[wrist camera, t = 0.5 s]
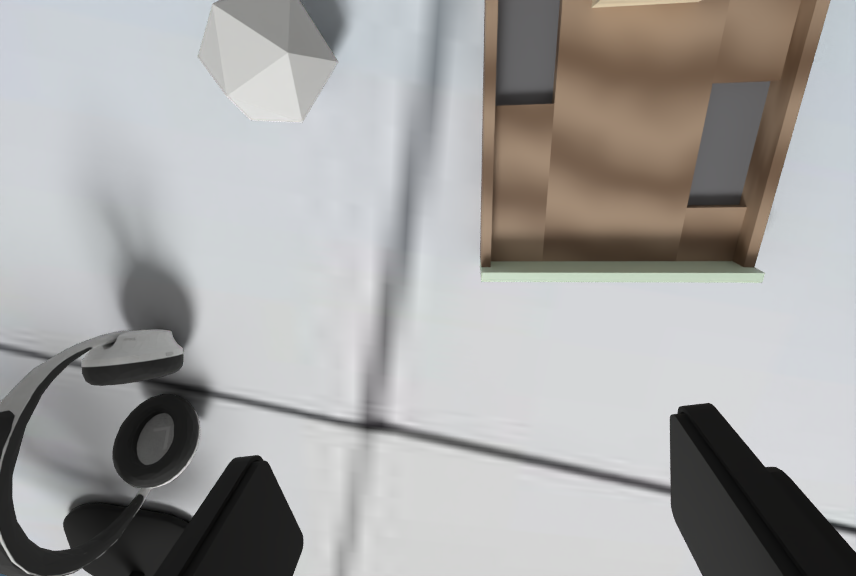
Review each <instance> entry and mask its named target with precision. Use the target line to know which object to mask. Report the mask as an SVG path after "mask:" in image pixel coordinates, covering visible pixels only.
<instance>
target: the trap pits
mask: <svg viewBox="0 0 856 576" xmlns="http://www.w3.org/2000/svg"><path fill="white" fill-rule="evenodd" d="M559 6H560V0H498V23H497V59H496V95H495V106H503V105H531V104H552V98H553V85H554V72H555V59H556V46H557V32H558V19H559ZM770 82H771V81H767V82H741V83H714V84H712V89H711V94H710V98H709V103H708V108H707V113H706V118H705V122H704V127H703V132H702V137H701V142H700V147H699V151H698V156H697V161H696V166H695V171H694V176H693V180H692V185H691V190H690V195H689V200H688V204H687V205H739V203H740V200H741V196H742V192H743V188H744V184H745V180H746V176H747V172H748V168H749V164H750V160H751V156H752V153H753V149H754V145H755V141H756V137H757V133H758V129H759V125H760V121H761V117H762V113H763V109H764V105H765V102H766V98H767V94H768V90H769V86H770Z"/></svg>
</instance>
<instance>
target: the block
mask: <svg viewBox="0 0 856 576" xmlns="http://www.w3.org/2000/svg"><path fill="white" fill-rule="evenodd" d="M699 1H701V0H592V8H598V7H616V6H634V5H652V4H670V3H688V2H699Z"/></svg>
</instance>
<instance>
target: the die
mask: <svg viewBox="0 0 856 576" xmlns="http://www.w3.org/2000/svg"><path fill="white" fill-rule="evenodd" d="M198 58H199V59H200V61H201V62H202V63H203V65H204V66H205V68H206V69H207V70H208V72H209V73H210V74H211V76H212V77H213V78H214V80H215V81H216V83H217V84H218V85H219V87H220V88H221V89H222V91H223V92H224V94H225V95H226V96H227V97H228V98H229V99H230V100H231V101H232V102H233V103H234V104H235V105H236V106H237V107H238V108H239V109H240V110H241V111H242V112H243V113H244V114H245V115H246V116H247V117H248V118H249V119H250V120H251V121H273V122H297V123H303V121H304V119H305V118H306V116H307V114H308V113H309V111H310V109H311V107H312V106H313V104H314V102H315V101H316V99H317V97H318V96H319V94H320V92H321V90H322V89H323V87H324V85H325V84H326V82H327V80H328V79H329V77H330V75H331V73H332V72H333V70H334V68H335V67H336V65H337V63H338V61H337V59H336V57H335V56H334V54H333V53H332V51H331V49H330V48H329V46H328V45H327V43H326V42H325V40H324V38H323V37H322V35H321V34H320V32H319V30H318V29H317V27H316V26H315V24H314V22H313V21H312V19H311V18H310V16H309V15H308V13H307V11H306V10H305V8H304V7H303V5H302V3H301V2H300V0H219V1H217V2H215V3H213V4H212V8H211V11H210V15H209V18H208V22H207V25H206V29H205V32H204V36H203V39H202V43H201V46H200V50H199V53H198Z"/></svg>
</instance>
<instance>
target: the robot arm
mask: <svg viewBox="0 0 856 576" xmlns="http://www.w3.org/2000/svg"><path fill="white" fill-rule="evenodd" d="M670 470H671V508H672V513H673V516H674V519H675V522H676V524H677V526H678V528H679V530H680V532H681V534H682V536H683V538H684V540H685V542H686V544H687V546H688V548H689V550H690V552H691V554H692V556H693V558H694V560H695V562H696V564H697V566H698V568H699V570H700V572H701V573H702V575H703V576H856V552H855V551H854V550H853V549H852V548H851V547H850V546H849V544H848V543H847V542H846V541H845V540H844V539H843V538H842V537H841V535H840V534H839V533H838V532H837V531H836V530H835V529H834V527H833V526H832V525H831V524H830V523H829V522H828V521H827V519H826V518H825V517H824V516H823V515H822V514H821V513H820V511H819V510H818V509H817V508H816V507H815V506H814V505H813V503H812V502H811V501H810V500H809V499H808V498H807V497H806V495H805V494H804V493H803V492H802V491H801V490H800V489H799V488H798V486H797V485H796V484H795V483H794V482H793V481H792V480H791V478H790V477H789V476H787V475H786V474H785V473H784V472H783V471H782V470H780V469H778V468H777V467H765V466H764V465H763V464H762V463H761V462H760V460H759V459H758V458H757V457H756V456H755V454H754V453H753V452H752V451H751V450H750V448H749V447H748V446H747V445H746V444H745V442H744V441H743V440H742V439H741V438H740V436H739V435H738V434H737V433H736V432H735V430H734V429H733V428H732V427H731V426H730V424H729V423H728V422H727V421H726V420H725V418H724V417H723V416H722V415H721V414H720V412H719V411H718V410H717V409H716V408H715V407H714V406H713V405H712V404H710V403H705V404H696V405H688V406H681V407H679V409H678V414H673V415H671V416H670ZM302 549H303V535H302V532H301V530H300V528H299V526H298V524H297V522H296V520H295V518H294V515H293V513H292V511H291V509H290V507H289V505H288V503H287V501H286V499H285V497H284V495H283V492H282V490H281V488H280V486H279V484H278V482H277V480H276V478H275V476H274V474H273V472H272V469H271V467H270V465H269V464H268V462H267V461H263V459H262V458H261V457H260V456H258V455H255V456H246V457H237V458H234V459H233V460H232V461H231V462H230V463H229V465H228V466H227V467H226V469H225V470H224V472H223V473H222V475H221V476H220V478H219V479H218V481H217V482H216V484H215V485H214V487H213V488H212V490H211V491H210V493H209V494H208V496H207V497H206V499H205V500H204V502H203V503H202V504H201V506H200V507H199V509H198V510H197V512H196V513H195V515H194V516H193V518H192V519H191V521H190V522H189V524H188V525H187V527H186V528H185V530H184V531H183V533H182V534H181V536H180V537H179V538H178V540H177V541H176V543H175V544H174V546H173V547H172V549H171V550H170V552H169V553H168V555H167V556H166V558H165V559H164V561H163V562H162V564H161V565H160V567H159V568H158V570H157V571H156V573H155V574H154V575H153V576H293V574H294V571H295V568H296V566H297V563H298V560H299V558H300V555H301V552H302Z"/></svg>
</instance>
